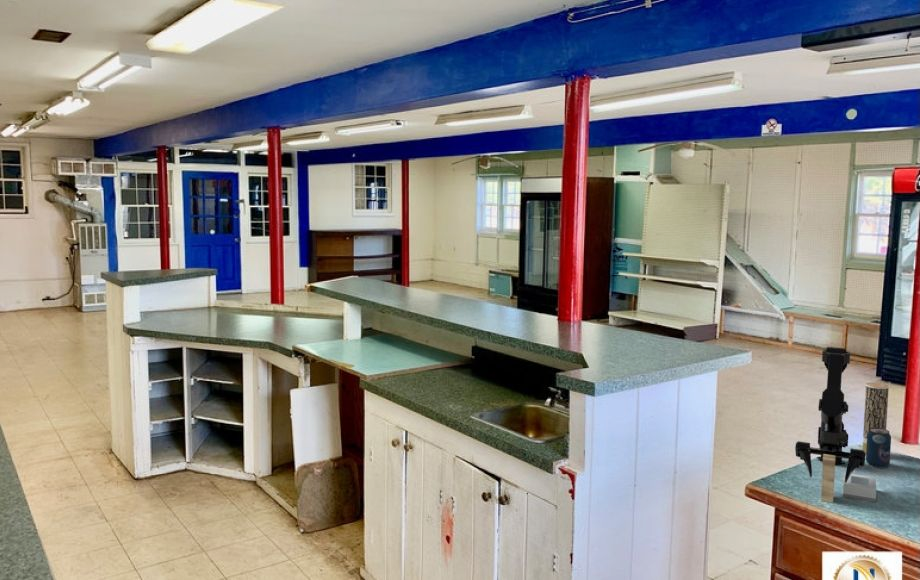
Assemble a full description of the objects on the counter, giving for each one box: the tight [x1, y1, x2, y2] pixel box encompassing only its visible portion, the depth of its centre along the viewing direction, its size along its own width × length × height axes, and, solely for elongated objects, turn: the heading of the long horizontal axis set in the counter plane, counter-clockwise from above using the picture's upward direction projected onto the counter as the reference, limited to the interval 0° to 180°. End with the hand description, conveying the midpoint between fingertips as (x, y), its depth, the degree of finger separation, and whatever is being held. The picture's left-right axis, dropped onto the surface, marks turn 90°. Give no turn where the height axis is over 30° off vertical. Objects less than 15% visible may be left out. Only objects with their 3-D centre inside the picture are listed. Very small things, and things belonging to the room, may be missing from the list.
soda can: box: [865, 428, 892, 469], centre depth 235 cm, size 7×7×12 cm
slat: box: [820, 454, 836, 503], centre depth 209 cm, size 4×3×13 cm
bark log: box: [862, 382, 889, 455], centre depth 244 cm, size 7×7×25 cm
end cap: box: [842, 472, 877, 503], centre depth 213 cm, size 10×8×4 cm
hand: (828, 479), depth 208 cm, fingers open, 9 cm apart
